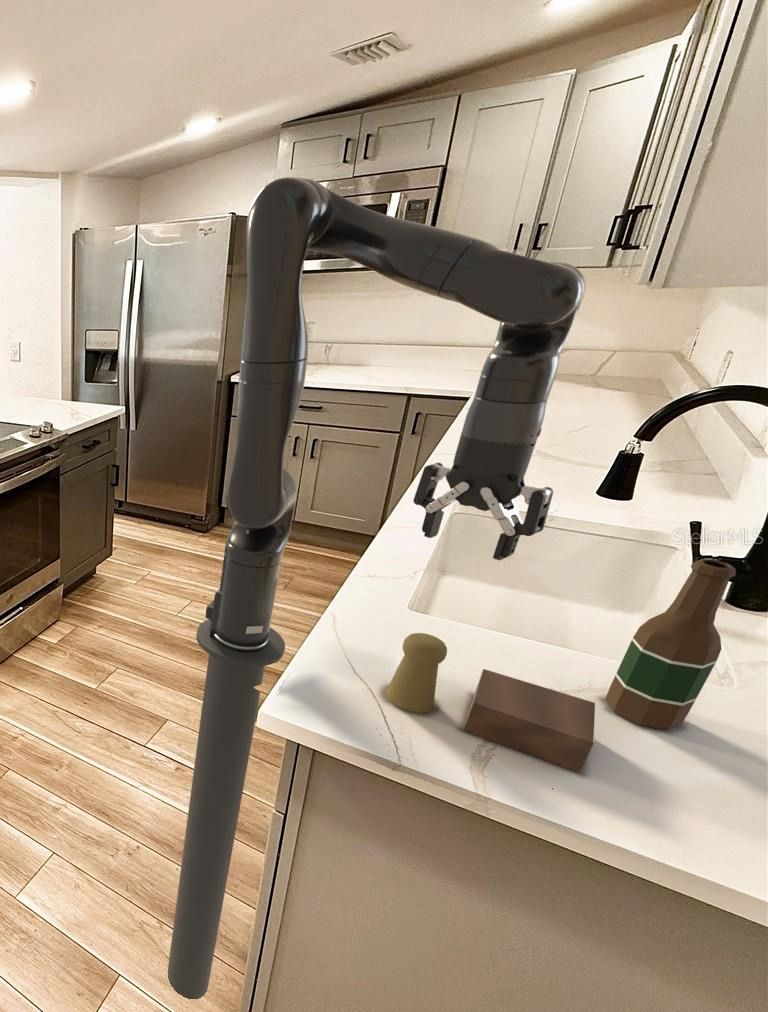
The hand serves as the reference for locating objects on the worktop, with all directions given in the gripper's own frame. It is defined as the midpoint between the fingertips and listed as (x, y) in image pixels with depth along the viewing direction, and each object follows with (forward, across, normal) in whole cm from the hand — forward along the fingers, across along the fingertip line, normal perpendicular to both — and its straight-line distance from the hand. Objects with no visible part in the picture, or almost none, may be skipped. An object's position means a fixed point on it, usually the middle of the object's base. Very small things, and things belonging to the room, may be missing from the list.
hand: (463, 546), depth 85 cm
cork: (+25, +1, -4) cm, 25 cm away
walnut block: (+24, +12, +2) cm, 27 cm away
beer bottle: (+25, +19, +20) cm, 37 cm away
